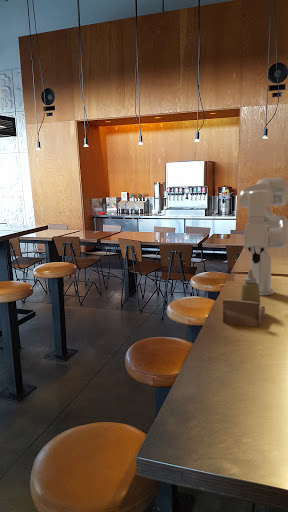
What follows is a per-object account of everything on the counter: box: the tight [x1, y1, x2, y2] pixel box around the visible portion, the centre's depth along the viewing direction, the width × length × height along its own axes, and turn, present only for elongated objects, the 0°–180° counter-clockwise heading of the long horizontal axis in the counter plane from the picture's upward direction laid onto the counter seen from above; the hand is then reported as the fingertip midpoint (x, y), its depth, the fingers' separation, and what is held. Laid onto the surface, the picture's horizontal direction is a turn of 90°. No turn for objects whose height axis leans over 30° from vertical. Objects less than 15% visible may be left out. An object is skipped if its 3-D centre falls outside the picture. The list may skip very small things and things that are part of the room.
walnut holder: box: [222, 298, 266, 328], centre depth 141 cm, size 11×13×9 cm
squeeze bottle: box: [240, 268, 261, 304], centre depth 150 cm, size 8×8×18 cm
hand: (256, 262), depth 157 cm, fingers closed
